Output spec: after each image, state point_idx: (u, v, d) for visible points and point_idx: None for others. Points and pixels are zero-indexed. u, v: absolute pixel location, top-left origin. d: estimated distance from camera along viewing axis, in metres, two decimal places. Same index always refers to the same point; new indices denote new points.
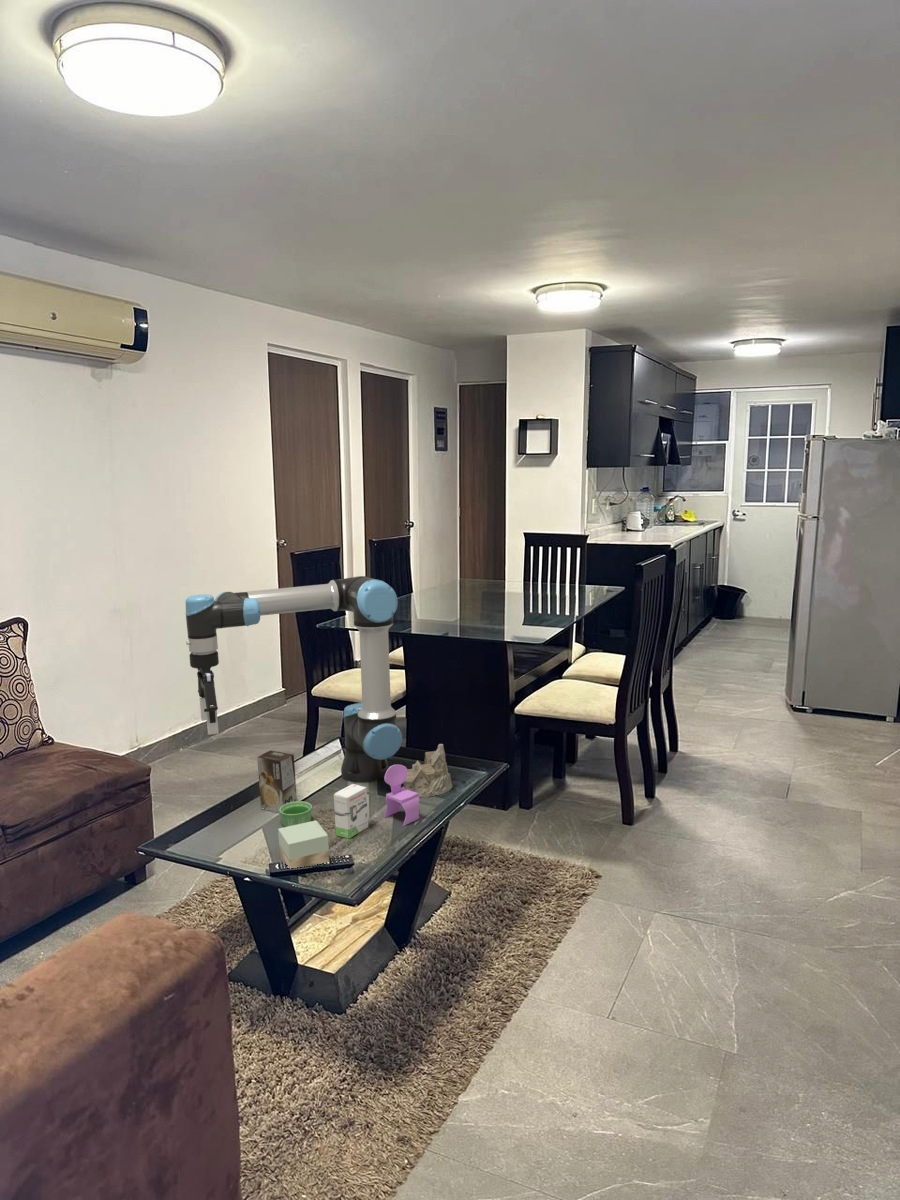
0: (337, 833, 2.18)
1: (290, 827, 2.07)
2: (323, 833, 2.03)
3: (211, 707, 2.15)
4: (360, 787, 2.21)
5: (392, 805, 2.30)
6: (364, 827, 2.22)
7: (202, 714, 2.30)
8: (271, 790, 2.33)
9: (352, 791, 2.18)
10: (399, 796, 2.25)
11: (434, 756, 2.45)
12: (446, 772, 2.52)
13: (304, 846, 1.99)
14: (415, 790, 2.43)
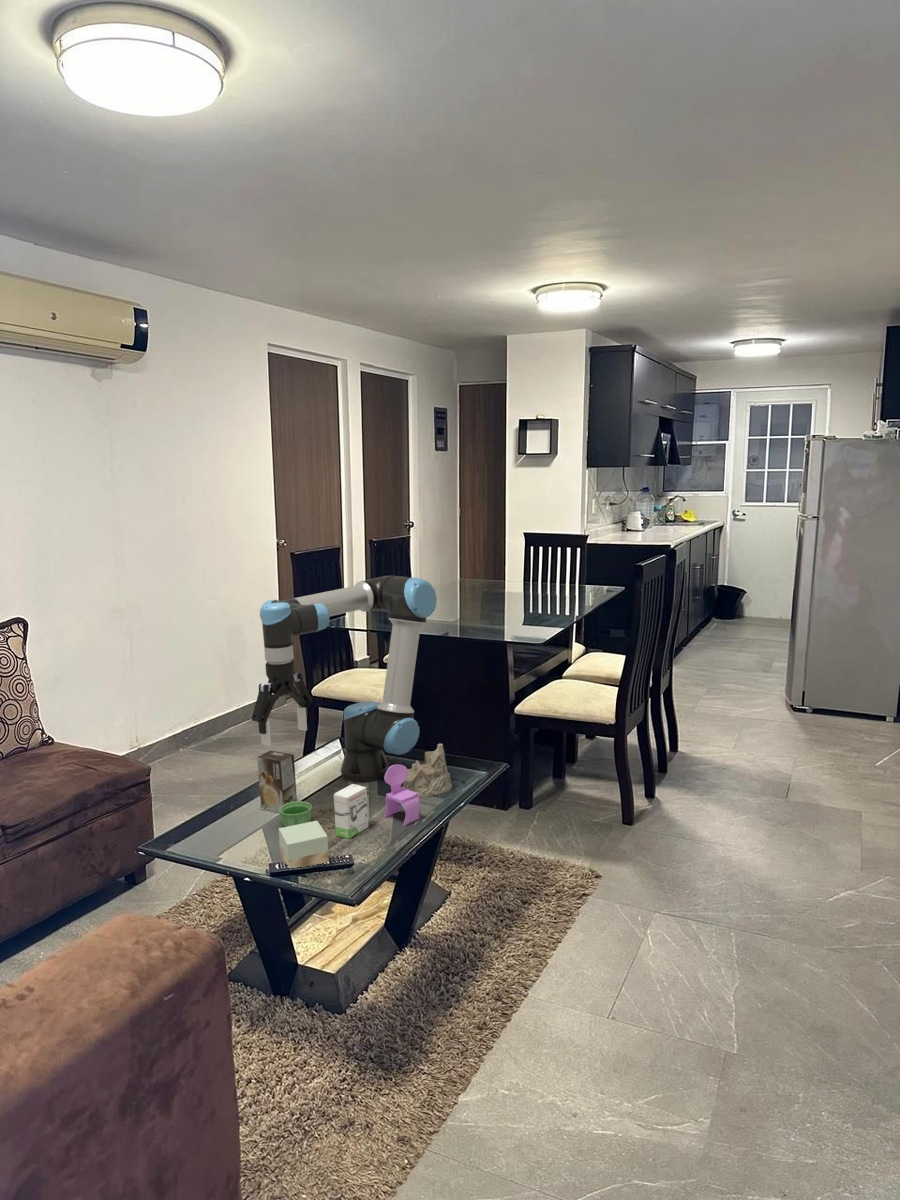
0: (337, 833, 2.18)
1: (291, 827, 2.07)
2: (323, 834, 2.03)
3: (254, 718, 2.11)
4: (360, 787, 2.21)
5: (392, 805, 2.30)
6: (364, 827, 2.22)
7: (298, 723, 2.26)
8: (271, 790, 2.33)
9: (352, 791, 2.18)
10: (399, 796, 2.25)
11: (434, 756, 2.46)
12: (446, 772, 2.52)
13: (303, 847, 1.99)
14: (415, 790, 2.43)
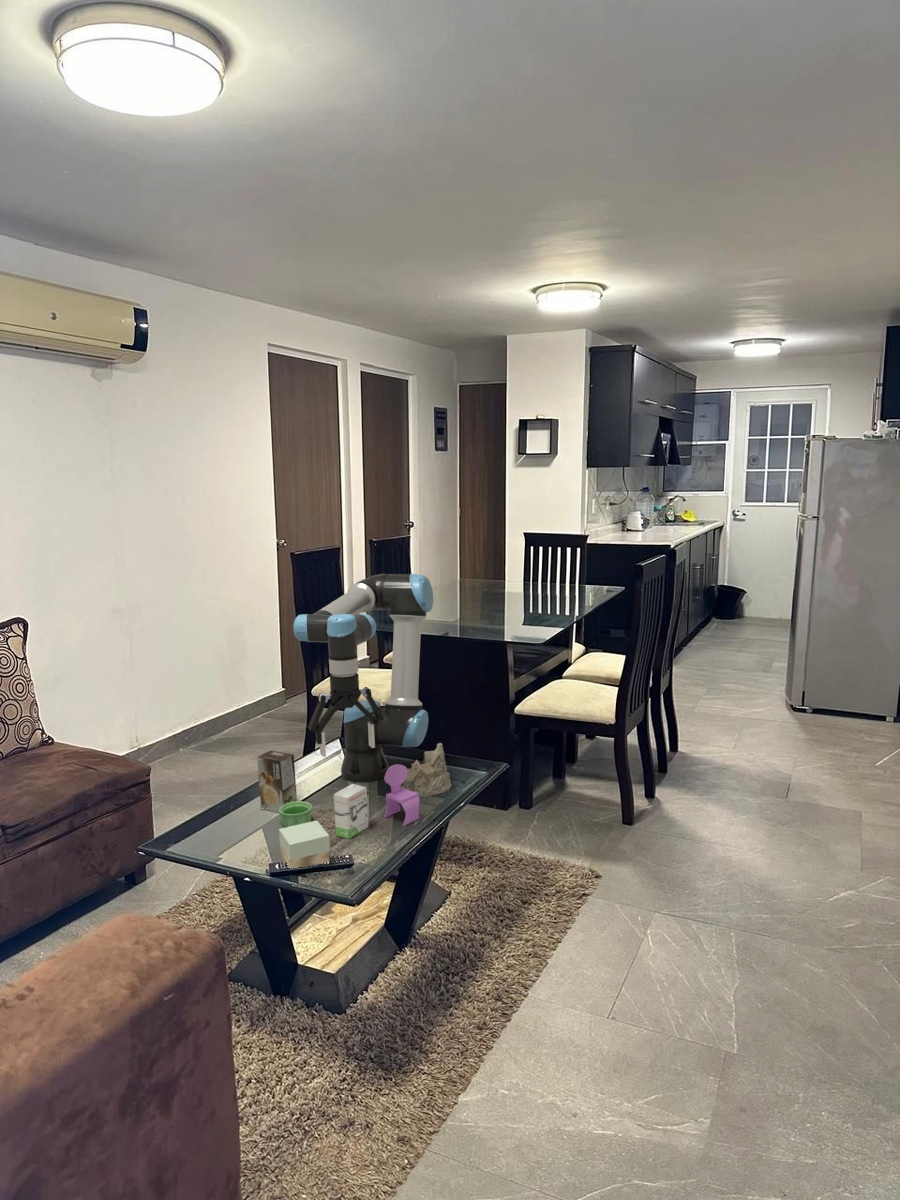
0: (337, 833, 2.18)
1: (291, 827, 2.07)
2: (324, 833, 2.03)
3: (309, 726, 2.12)
4: (360, 787, 2.21)
5: (392, 805, 2.30)
6: (364, 827, 2.22)
7: (369, 739, 2.20)
8: (271, 790, 2.33)
9: (352, 791, 2.18)
10: (399, 796, 2.25)
11: (433, 755, 2.46)
12: (445, 771, 2.52)
13: (305, 847, 1.99)
14: (414, 789, 2.43)
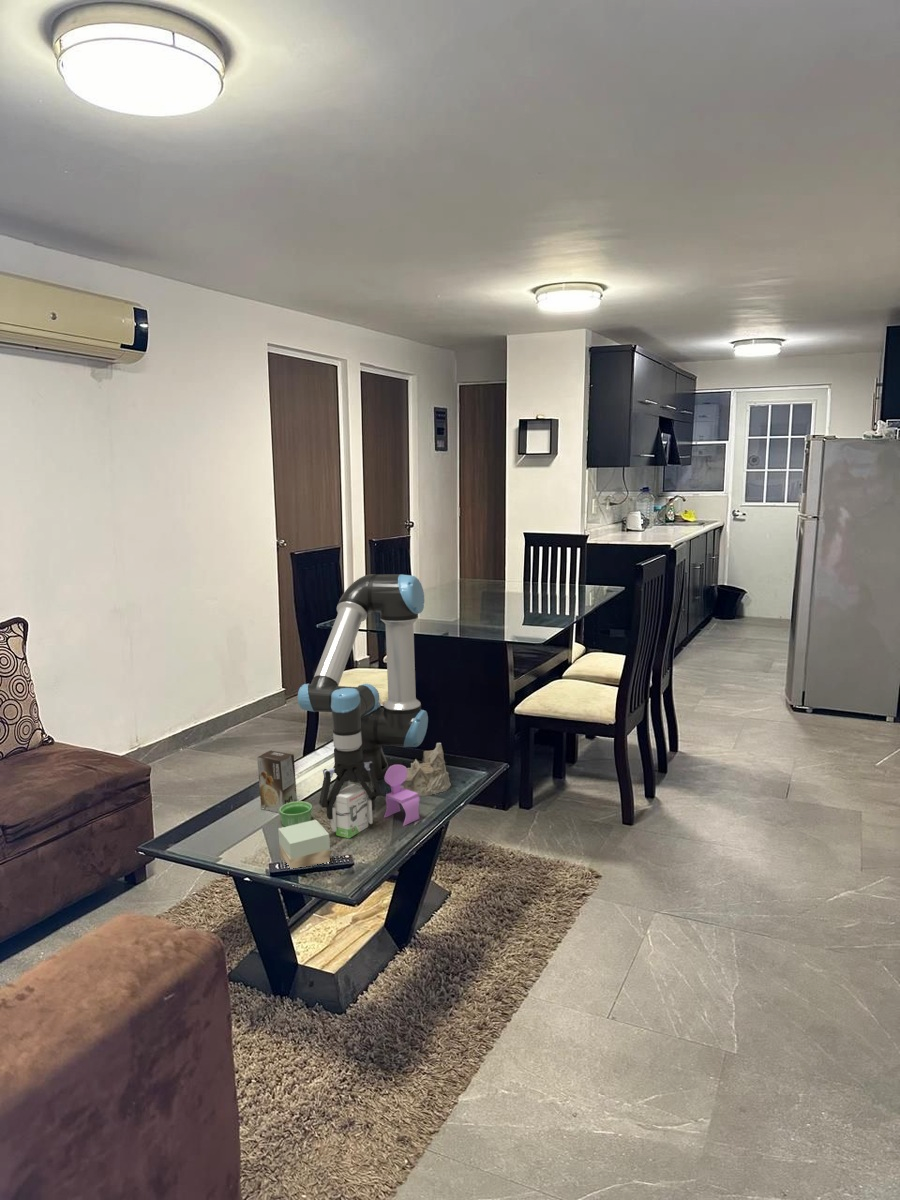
0: (337, 833, 2.18)
1: (290, 827, 2.07)
2: (324, 832, 2.03)
3: (320, 802, 2.16)
4: (360, 787, 2.21)
5: (392, 805, 2.30)
6: (363, 827, 2.22)
7: None
8: (271, 790, 2.34)
9: (352, 791, 2.18)
10: (399, 796, 2.25)
11: (432, 755, 2.46)
12: (444, 771, 2.53)
13: (305, 846, 2.00)
14: (414, 789, 2.44)
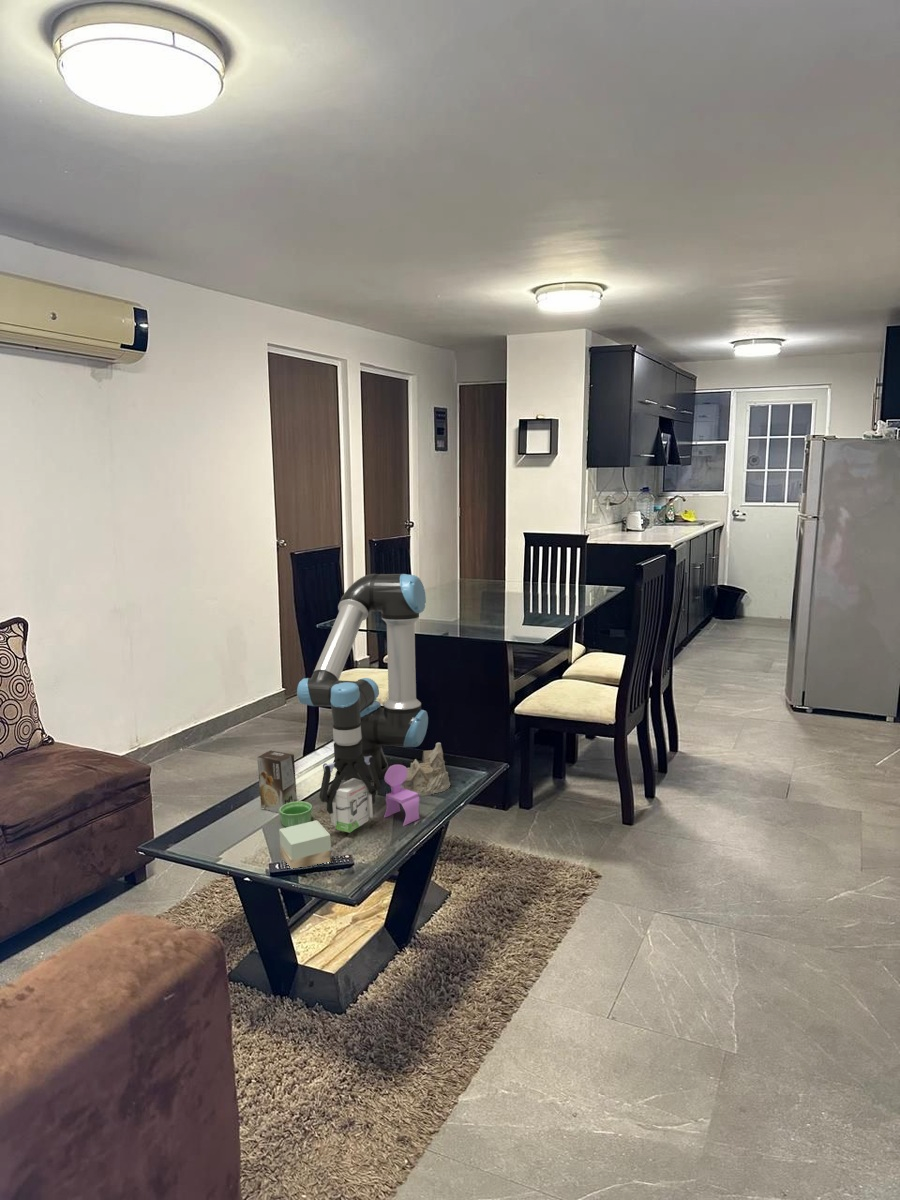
0: (337, 827, 2.18)
1: (291, 827, 2.07)
2: (325, 833, 2.03)
3: (320, 797, 2.16)
4: (360, 781, 2.21)
5: (392, 805, 2.30)
6: (364, 821, 2.22)
7: None
8: (271, 790, 2.34)
9: (352, 786, 2.18)
10: (399, 796, 2.25)
11: (432, 755, 2.47)
12: (444, 770, 2.53)
13: (306, 846, 2.00)
14: (413, 789, 2.44)
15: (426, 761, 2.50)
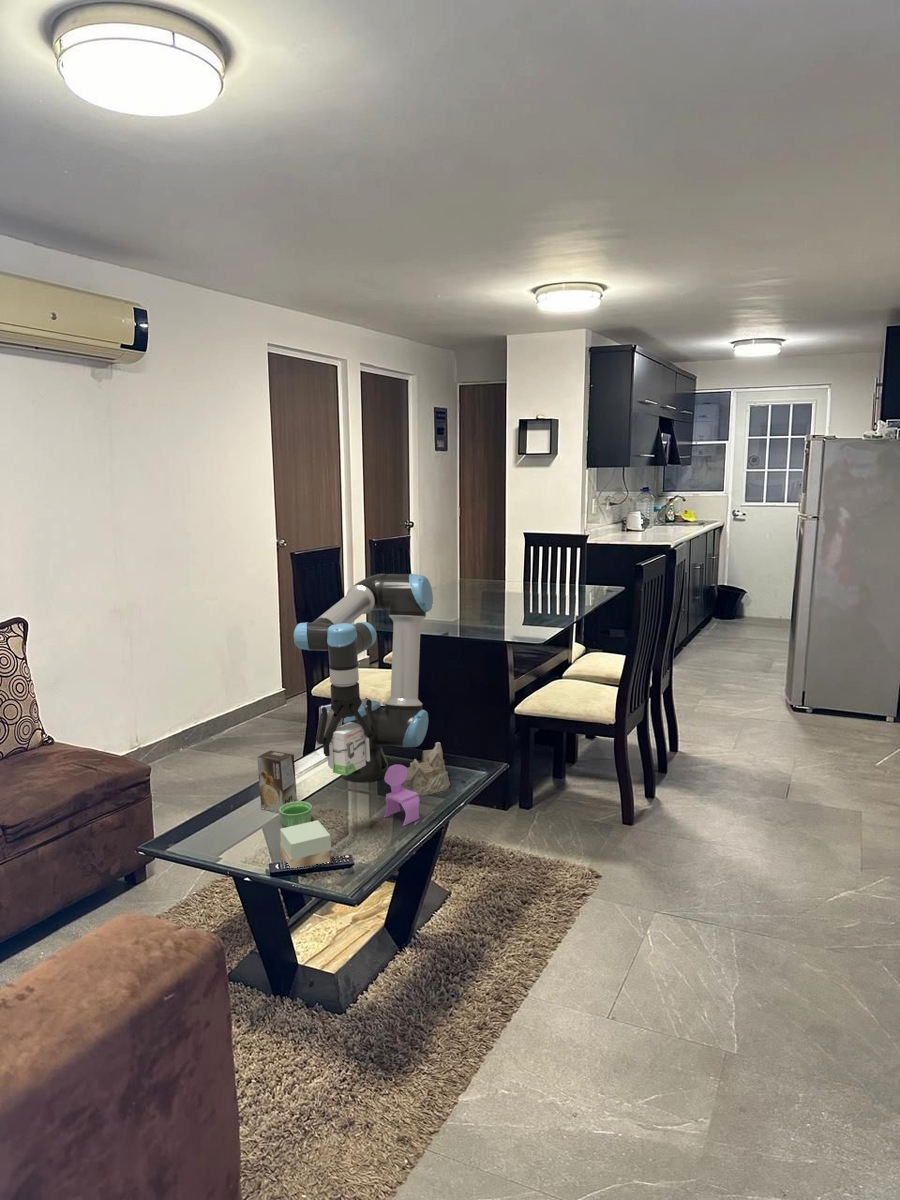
0: (334, 770, 2.16)
1: (292, 827, 2.07)
2: (326, 833, 2.03)
3: (317, 739, 2.13)
4: (357, 724, 2.19)
5: (392, 805, 2.30)
6: (361, 765, 2.19)
7: None
8: (271, 790, 2.34)
9: (349, 728, 2.15)
10: (399, 796, 2.25)
11: (432, 754, 2.47)
12: (443, 770, 2.54)
13: (306, 846, 1.99)
14: (413, 788, 2.44)
15: (426, 761, 2.51)
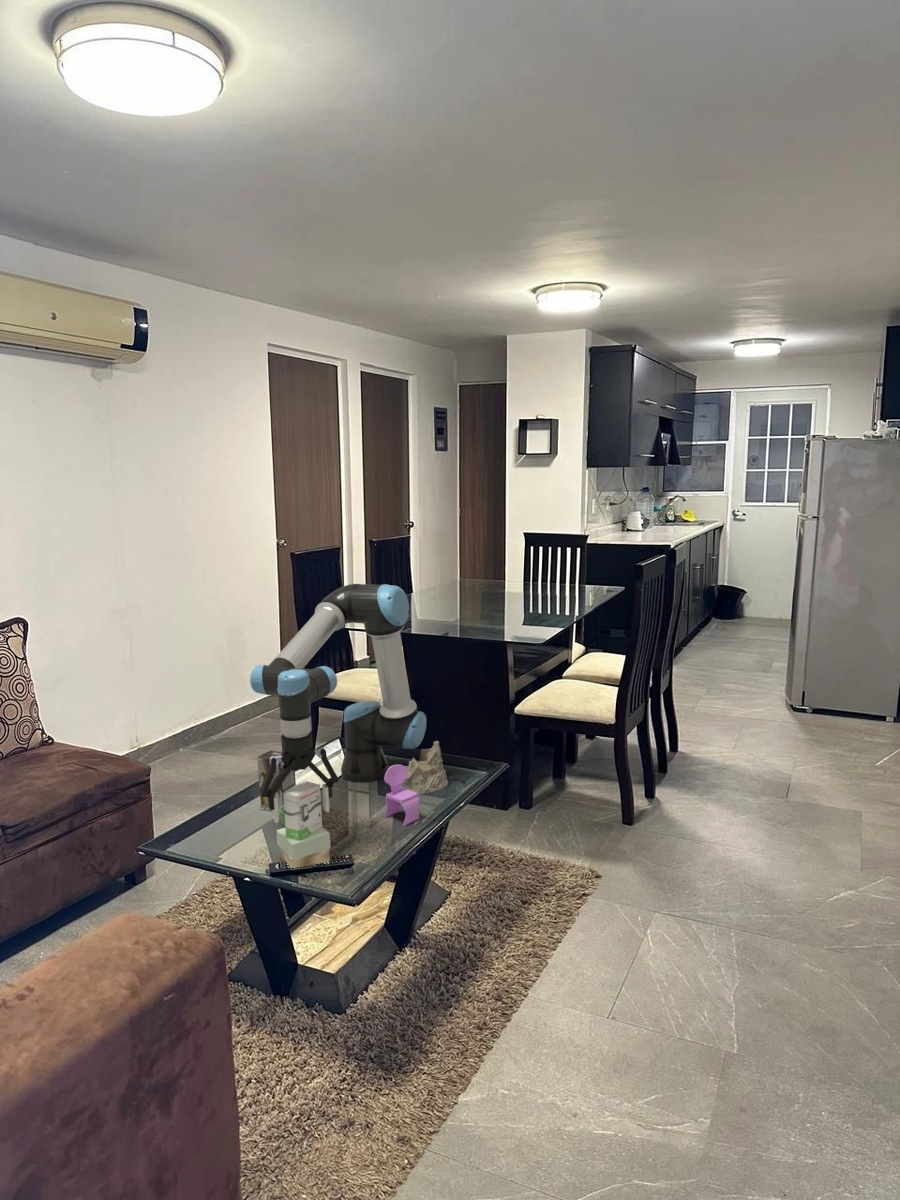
0: (287, 834, 2.01)
1: None
2: (324, 831, 2.04)
3: (260, 791, 1.98)
4: (313, 784, 2.04)
5: (392, 805, 2.30)
6: (317, 828, 2.05)
7: (323, 802, 2.07)
8: None
9: (303, 789, 2.01)
10: (399, 796, 2.25)
11: (430, 753, 2.48)
12: (441, 769, 2.55)
13: (307, 846, 2.00)
14: (412, 787, 2.45)
15: (424, 759, 2.52)
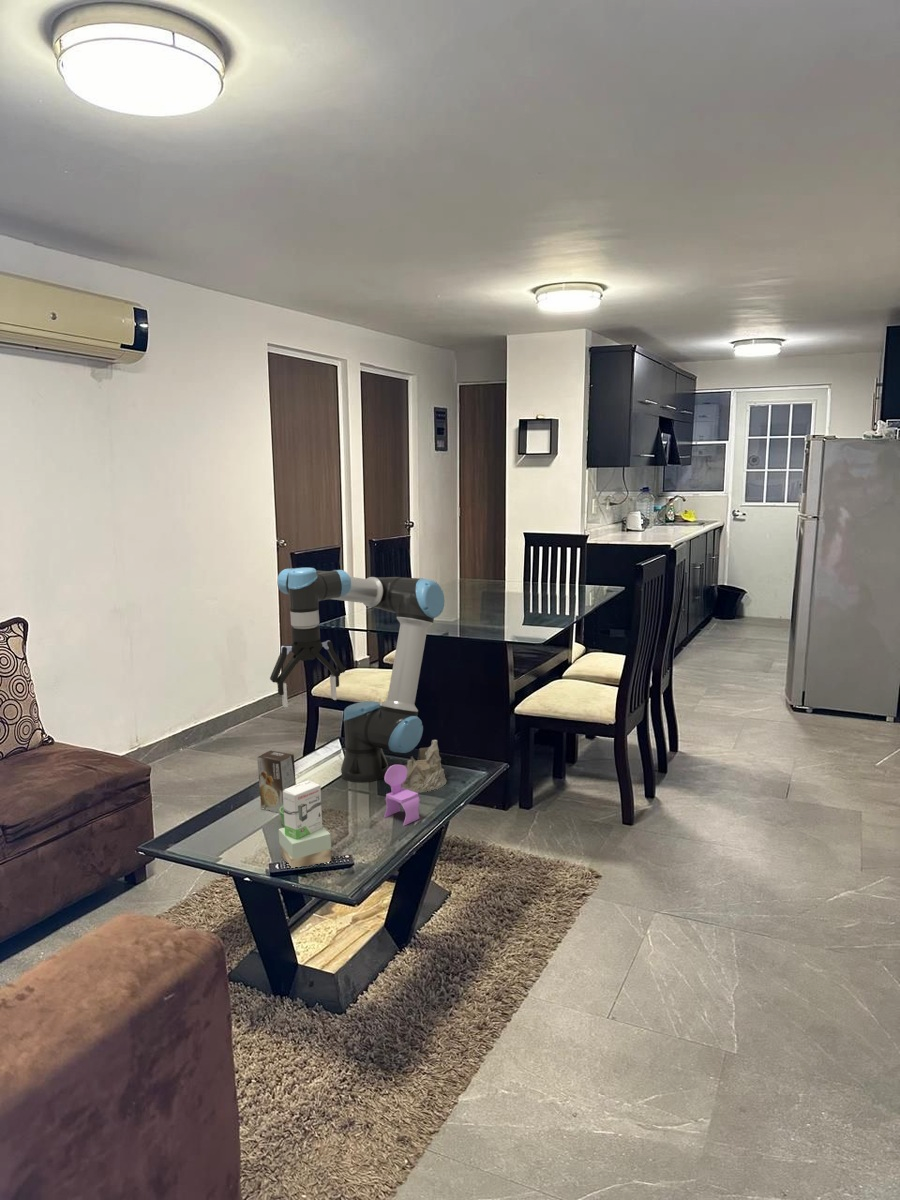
0: (286, 832, 2.02)
1: None
2: (325, 832, 2.04)
3: (271, 677, 2.16)
4: (314, 784, 2.05)
5: (392, 805, 2.30)
6: (316, 828, 2.05)
7: (331, 691, 2.25)
8: (271, 790, 2.34)
9: (303, 789, 2.02)
10: (399, 796, 2.25)
11: (428, 752, 2.49)
12: (440, 767, 2.56)
13: (307, 846, 2.00)
14: (410, 786, 2.46)
15: (422, 758, 2.53)
